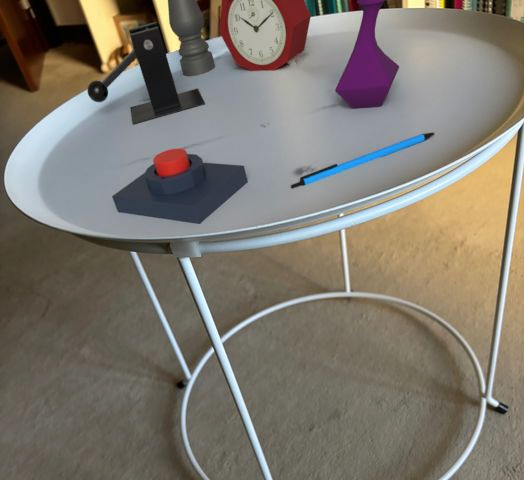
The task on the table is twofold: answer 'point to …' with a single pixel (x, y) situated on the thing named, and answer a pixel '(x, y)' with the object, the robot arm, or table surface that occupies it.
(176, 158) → the button
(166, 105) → the bracket
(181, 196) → the button box
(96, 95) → the lever
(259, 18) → the alarm clock
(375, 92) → the purple vase
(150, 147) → the table surface
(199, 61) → the candle holder
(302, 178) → the pen
